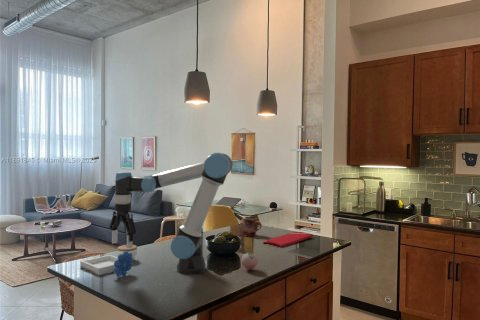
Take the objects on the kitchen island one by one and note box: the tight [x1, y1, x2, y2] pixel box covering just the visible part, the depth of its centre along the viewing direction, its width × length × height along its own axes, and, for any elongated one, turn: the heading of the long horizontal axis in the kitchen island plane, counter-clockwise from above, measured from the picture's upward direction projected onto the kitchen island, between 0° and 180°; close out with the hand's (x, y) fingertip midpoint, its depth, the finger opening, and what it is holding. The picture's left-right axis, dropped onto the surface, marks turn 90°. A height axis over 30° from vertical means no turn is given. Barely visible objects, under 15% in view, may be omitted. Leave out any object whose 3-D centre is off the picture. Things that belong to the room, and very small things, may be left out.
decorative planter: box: [239, 216, 262, 237], centre depth 272 cm, size 20×12×14 cm, turn 55°
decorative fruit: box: [240, 251, 259, 271], centre depth 189 cm, size 9×8×10 cm
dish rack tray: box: [79, 254, 118, 276], centre depth 191 cm, size 19×17×4 cm
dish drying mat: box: [262, 231, 314, 248], centre depth 257 cm, size 16×41×4 cm, turn 137°
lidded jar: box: [116, 243, 138, 259], centre depth 204 cm, size 11×11×9 cm
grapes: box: [112, 251, 135, 278], centre depth 179 cm, size 12×7×12 cm, turn 146°
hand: (122, 245), depth 179 cm, fingers open, 13 cm apart
